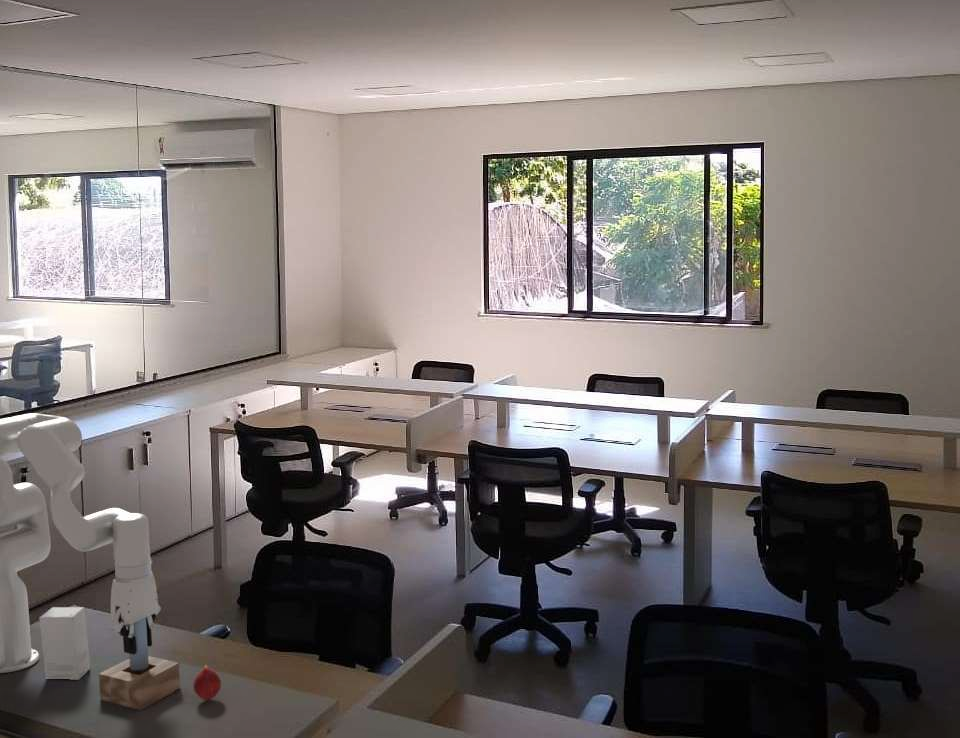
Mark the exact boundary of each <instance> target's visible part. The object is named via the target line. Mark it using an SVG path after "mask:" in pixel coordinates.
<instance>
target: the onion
mask: <svg viewBox="0 0 960 738" xmlns="http://www.w3.org/2000/svg"><path fill="white" fill-rule="evenodd" d="M221 688H222V680H221V679H220V676H219V674H218V673H217V672H216V671H215V670H213V669H211V668H210V667H209V666H208V665H204V667H203V670H202V671H200V672H199V673H197V675H196V677H195V679H194V681H193V690H194V693H195V694H196V695H197V696H198V697H199V698H200V699H202V700H203V701H207V702H208V701H210V700H212V699H213V698H214V697H216V696H217V695H218V694H219V692H220V690H221Z"/></svg>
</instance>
